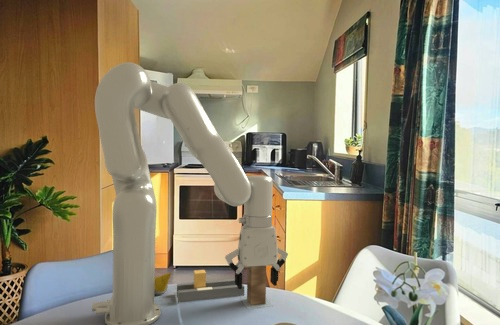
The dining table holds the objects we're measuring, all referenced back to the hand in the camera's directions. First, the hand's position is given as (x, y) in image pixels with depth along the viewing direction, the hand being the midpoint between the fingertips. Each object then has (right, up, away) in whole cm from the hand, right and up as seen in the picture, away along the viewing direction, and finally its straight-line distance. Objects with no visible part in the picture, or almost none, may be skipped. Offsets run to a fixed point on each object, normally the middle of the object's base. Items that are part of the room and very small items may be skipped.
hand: (256, 285), depth 88 cm
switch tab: (-16, -3, +4) cm, 16 cm away
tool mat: (0, -5, 0) cm, 5 cm away
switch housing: (-13, -5, +4) cm, 14 cm away
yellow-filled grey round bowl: (-27, -5, +6) cm, 28 cm away
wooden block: (0, -4, 0) cm, 4 cm away
